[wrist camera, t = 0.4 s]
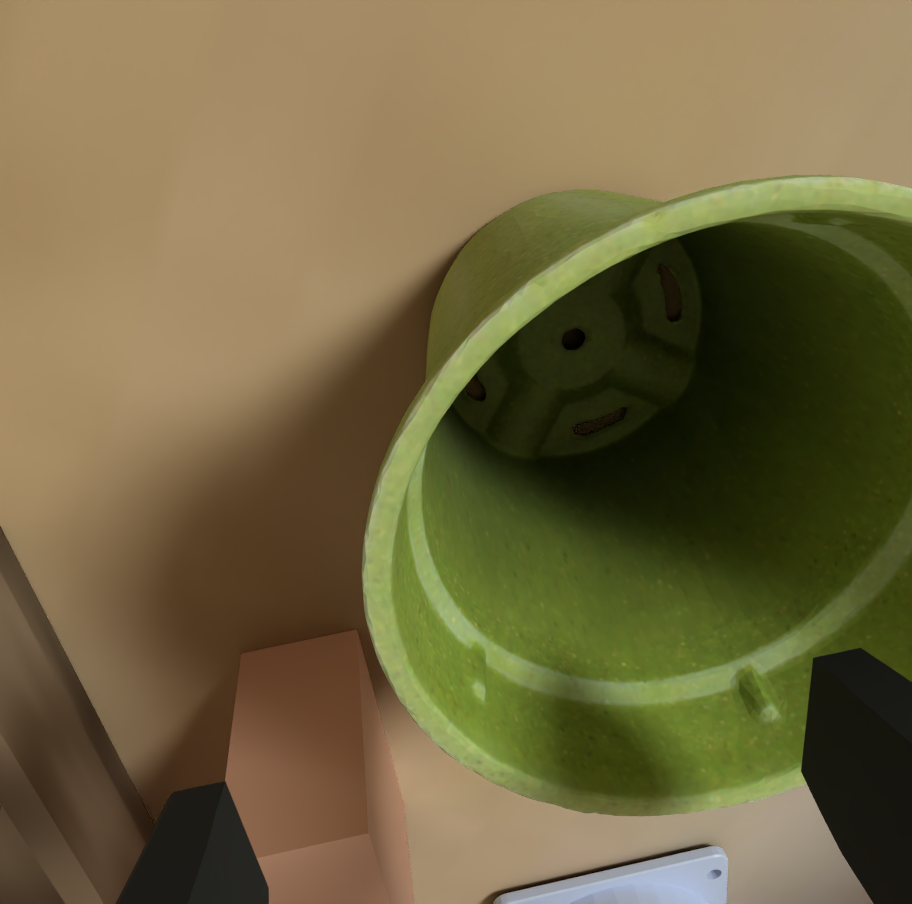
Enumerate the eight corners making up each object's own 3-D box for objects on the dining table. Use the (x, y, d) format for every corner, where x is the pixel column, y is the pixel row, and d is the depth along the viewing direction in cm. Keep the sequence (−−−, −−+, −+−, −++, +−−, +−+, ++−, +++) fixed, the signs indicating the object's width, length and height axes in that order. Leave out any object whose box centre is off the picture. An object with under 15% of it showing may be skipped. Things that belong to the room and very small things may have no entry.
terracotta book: (357, 628, 21) (368, 833, 16) (403, 803, 24) (426, 1019, 19) (241, 652, 21) (213, 867, 15) (305, 825, 24) (300, 1049, 19)
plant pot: (452, 570, 20) (528, 898, 13) (263, 226, 16) (207, 422, 8) (801, 417, 20) (1101, 668, 12) (711, 12, 15) (1103, 6, 7)
